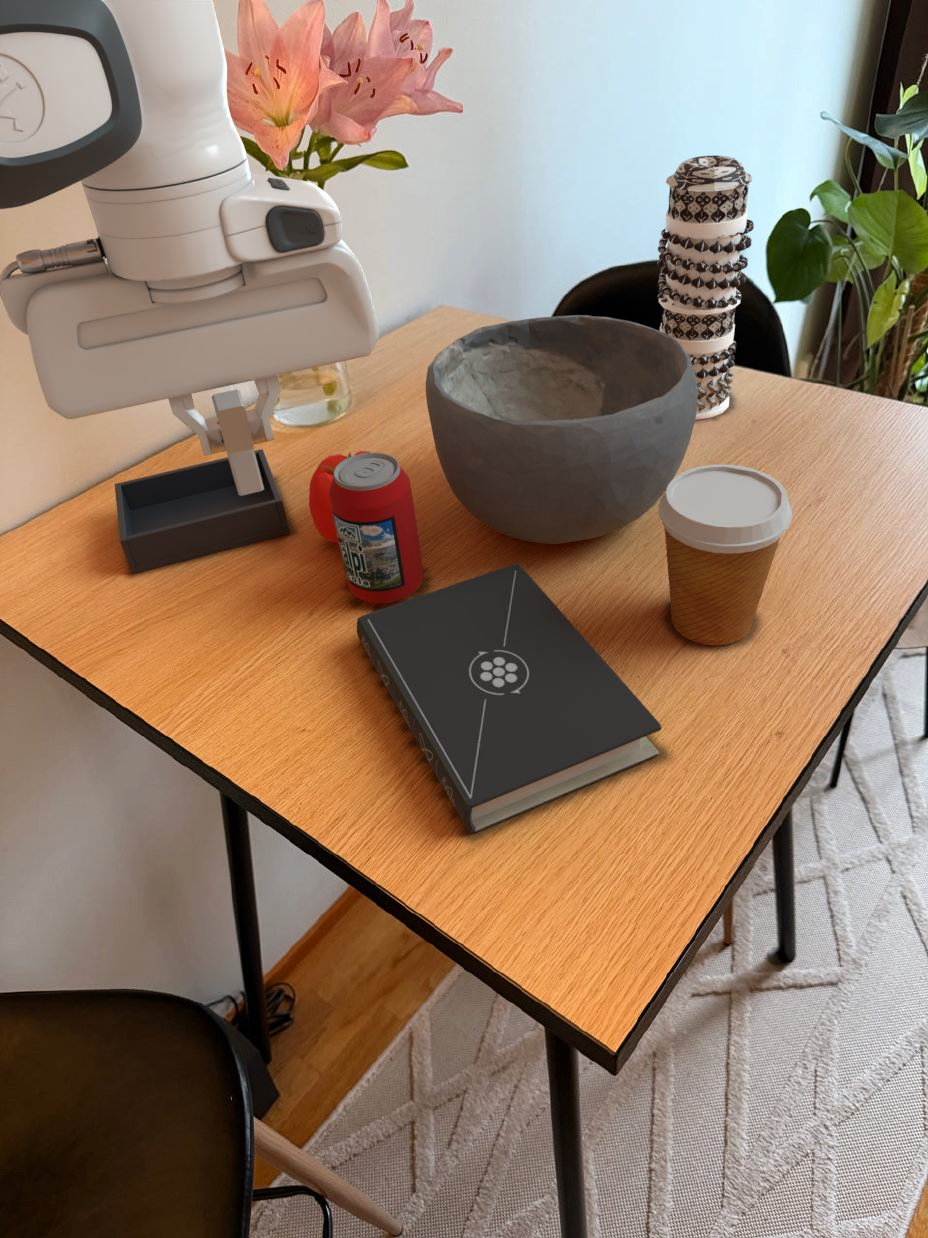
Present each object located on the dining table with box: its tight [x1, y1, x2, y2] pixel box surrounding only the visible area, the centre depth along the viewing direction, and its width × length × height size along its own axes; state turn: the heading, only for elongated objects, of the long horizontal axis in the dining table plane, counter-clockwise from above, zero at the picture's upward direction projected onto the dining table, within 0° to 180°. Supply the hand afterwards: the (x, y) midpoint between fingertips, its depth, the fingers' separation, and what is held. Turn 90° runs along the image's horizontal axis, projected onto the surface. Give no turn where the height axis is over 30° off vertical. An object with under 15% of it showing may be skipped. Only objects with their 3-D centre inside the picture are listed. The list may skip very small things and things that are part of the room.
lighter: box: [211, 388, 264, 496], centre depth 59 cm, size 7×2×8 cm, turn 19°
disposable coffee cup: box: [657, 463, 793, 646], centre depth 70 cm, size 10×10×12 cm
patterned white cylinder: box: [657, 155, 755, 421], centre depth 95 cm, size 9×9×25 cm
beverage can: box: [329, 452, 424, 604], centre depth 77 cm, size 7×7×12 cm
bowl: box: [425, 314, 698, 545], centre depth 84 cm, size 24×24×15 cm
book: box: [356, 562, 663, 835], centre depth 68 cm, size 22×15×3 cm
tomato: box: [308, 450, 372, 544], centre depth 85 cm, size 9×9×8 cm
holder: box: [114, 448, 291, 575], centre depth 90 cm, size 15×11×4 cm
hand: (238, 444), depth 60 cm, fingers closed on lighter, 2 cm apart
